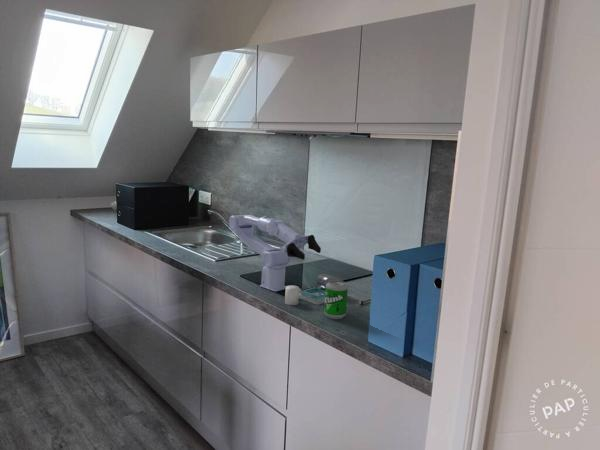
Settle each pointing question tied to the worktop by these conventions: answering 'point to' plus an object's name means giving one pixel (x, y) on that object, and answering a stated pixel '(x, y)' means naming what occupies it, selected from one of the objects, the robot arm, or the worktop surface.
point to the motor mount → (317, 290)
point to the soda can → (335, 299)
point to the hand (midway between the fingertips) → (312, 253)
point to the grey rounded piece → (292, 295)
